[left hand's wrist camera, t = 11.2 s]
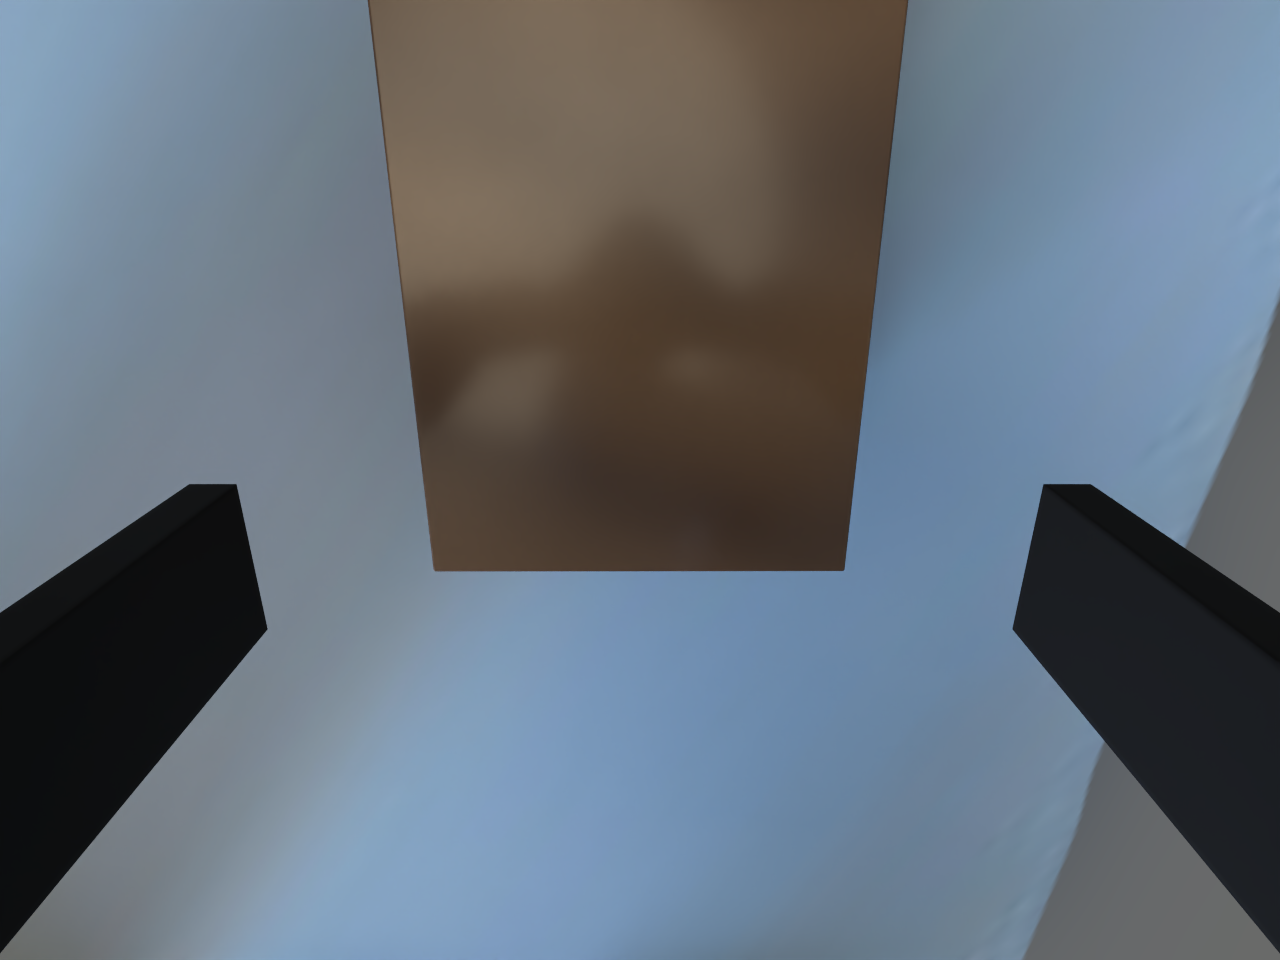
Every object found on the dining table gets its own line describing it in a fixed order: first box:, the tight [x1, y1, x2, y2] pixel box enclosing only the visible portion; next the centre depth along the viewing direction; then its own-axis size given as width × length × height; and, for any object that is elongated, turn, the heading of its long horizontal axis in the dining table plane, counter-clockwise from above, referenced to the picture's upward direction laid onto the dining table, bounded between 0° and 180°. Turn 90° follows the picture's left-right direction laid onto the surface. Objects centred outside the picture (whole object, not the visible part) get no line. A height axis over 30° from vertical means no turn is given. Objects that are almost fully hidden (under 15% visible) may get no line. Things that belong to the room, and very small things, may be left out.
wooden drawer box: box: [368, 0, 908, 571], centre depth 21 cm, size 21×11×11 cm, turn 0°
